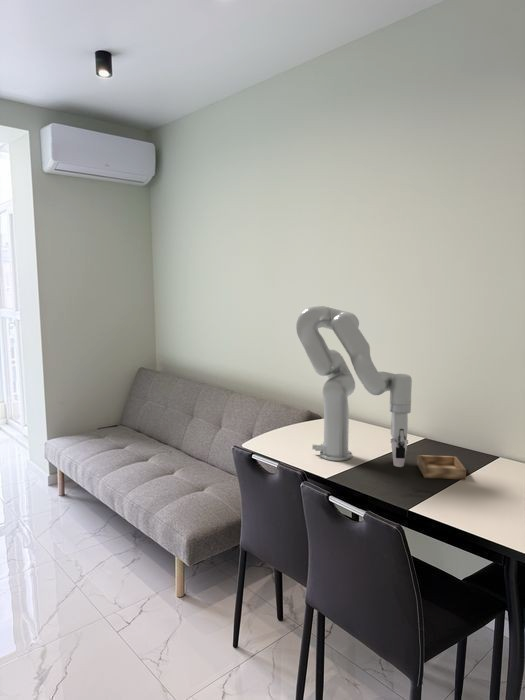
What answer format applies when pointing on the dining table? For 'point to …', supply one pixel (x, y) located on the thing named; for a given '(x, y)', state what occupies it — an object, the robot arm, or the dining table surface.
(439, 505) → the dining table surface
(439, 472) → the box
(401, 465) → the smoothie
